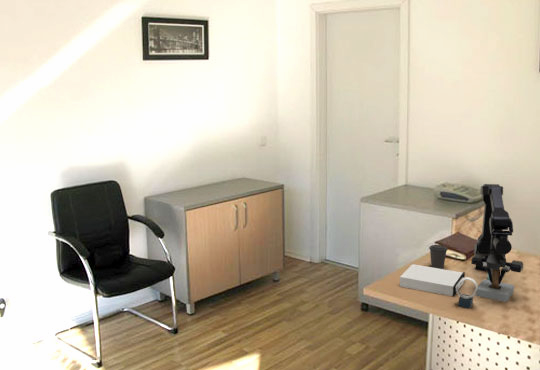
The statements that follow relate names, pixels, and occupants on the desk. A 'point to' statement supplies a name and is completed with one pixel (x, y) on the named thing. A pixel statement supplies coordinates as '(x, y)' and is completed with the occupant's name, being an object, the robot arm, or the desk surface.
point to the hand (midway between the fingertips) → (495, 283)
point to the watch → (464, 299)
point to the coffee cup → (438, 256)
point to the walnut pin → (495, 279)
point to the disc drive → (431, 279)
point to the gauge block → (495, 291)
